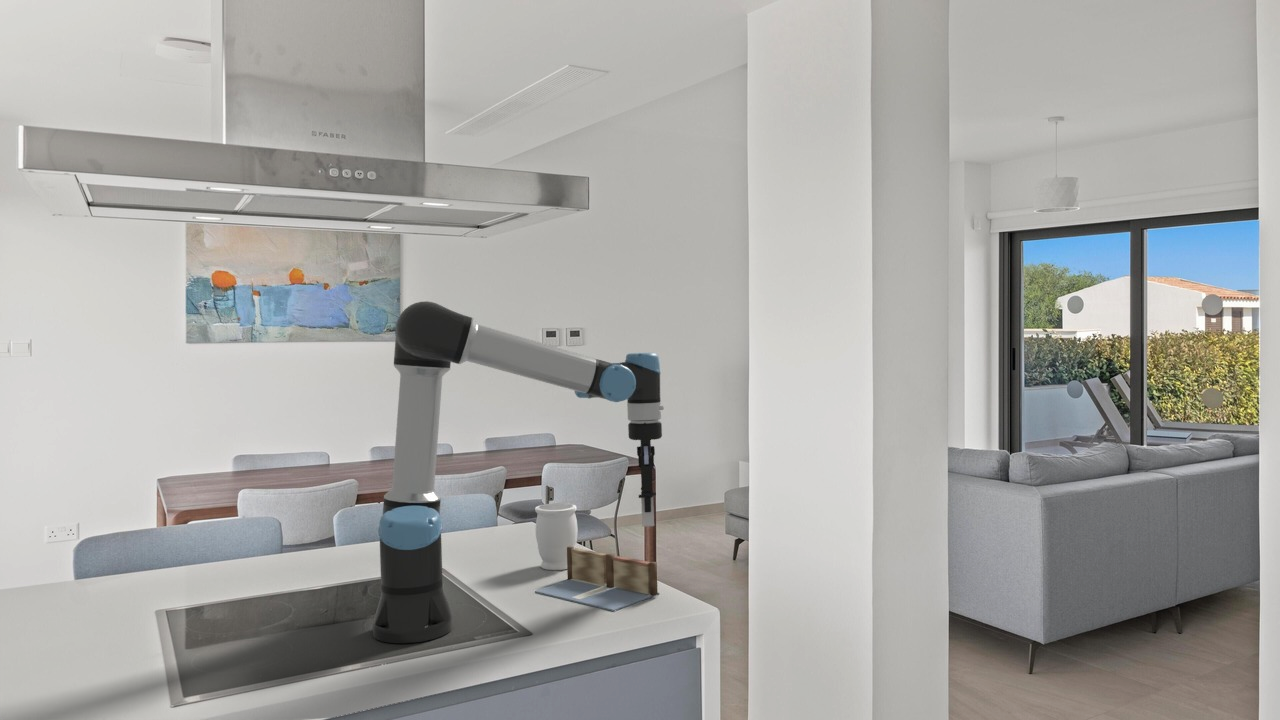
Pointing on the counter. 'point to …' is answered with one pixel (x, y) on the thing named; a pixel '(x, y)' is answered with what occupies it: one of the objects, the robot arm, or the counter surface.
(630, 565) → the swing panel
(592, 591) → the card
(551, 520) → the jar
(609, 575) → the brown wall panel
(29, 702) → the counter surface
